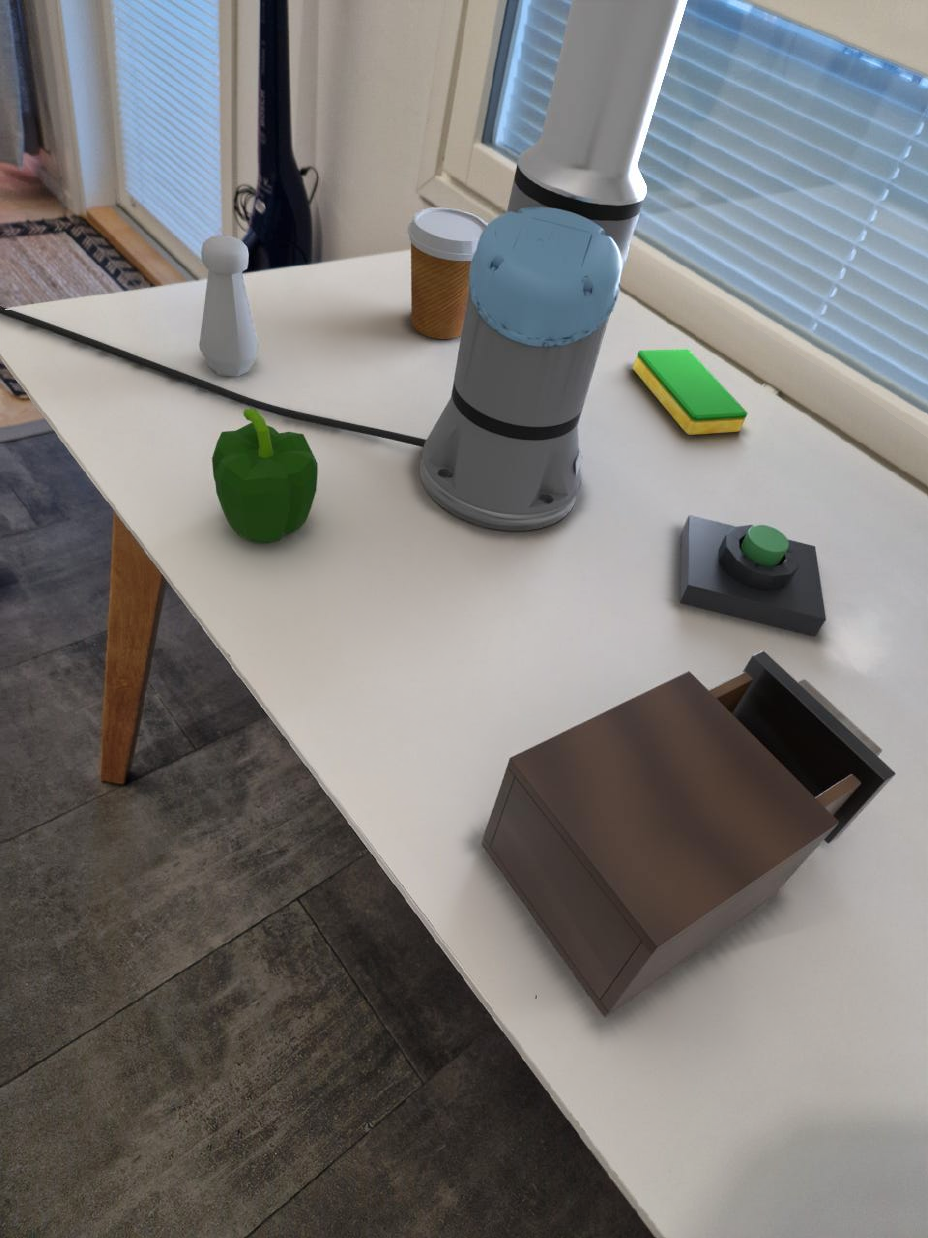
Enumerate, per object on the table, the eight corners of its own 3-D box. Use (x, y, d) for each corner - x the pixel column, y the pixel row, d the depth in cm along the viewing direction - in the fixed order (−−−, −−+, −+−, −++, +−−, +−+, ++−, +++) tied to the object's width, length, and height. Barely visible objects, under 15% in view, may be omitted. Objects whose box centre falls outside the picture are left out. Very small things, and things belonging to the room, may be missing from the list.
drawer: (758, 698, 67) (801, 630, 62) (874, 812, 61) (934, 748, 56) (587, 790, 59) (619, 721, 53) (703, 932, 53) (753, 870, 47)
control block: (679, 603, 75) (695, 569, 72) (681, 532, 82) (695, 499, 79) (815, 637, 75) (836, 604, 72) (805, 563, 82) (824, 531, 79)
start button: (741, 561, 75) (749, 546, 73) (739, 535, 77) (747, 520, 76) (782, 571, 75) (790, 556, 73) (779, 545, 77) (787, 530, 76)
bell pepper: (323, 552, 72) (329, 454, 65) (221, 560, 70) (216, 458, 63) (306, 489, 78) (310, 392, 71) (211, 494, 75) (205, 394, 68)
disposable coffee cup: (477, 352, 100) (496, 248, 91) (394, 339, 99) (406, 234, 90) (477, 313, 106) (495, 213, 98) (400, 301, 105) (411, 199, 97)
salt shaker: (270, 367, 91) (270, 244, 81) (232, 388, 87) (227, 261, 78) (228, 345, 92) (223, 222, 83) (188, 365, 89) (178, 238, 79)
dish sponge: (682, 366, 105) (689, 347, 103) (741, 432, 97) (749, 413, 95) (631, 368, 103) (637, 349, 101) (687, 436, 94) (694, 417, 92)
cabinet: (644, 756, 63) (689, 670, 56) (771, 899, 56) (839, 822, 49) (480, 843, 56) (509, 757, 49) (604, 1018, 49) (657, 947, 42)
